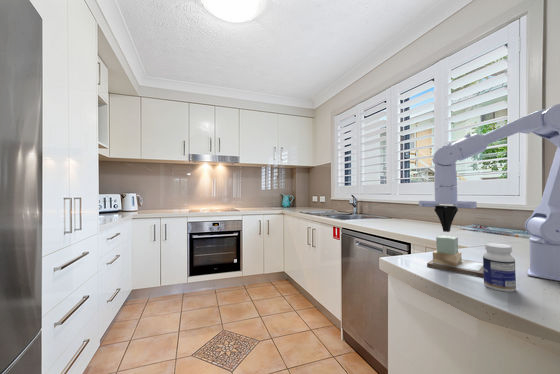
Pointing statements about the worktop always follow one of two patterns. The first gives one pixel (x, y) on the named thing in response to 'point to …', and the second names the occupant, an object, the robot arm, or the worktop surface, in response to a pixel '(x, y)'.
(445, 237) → the sage block
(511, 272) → the pill bottle
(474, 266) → the board
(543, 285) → the worktop surface
